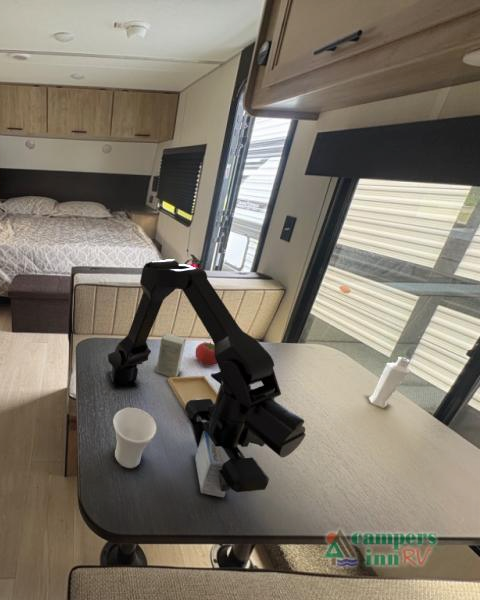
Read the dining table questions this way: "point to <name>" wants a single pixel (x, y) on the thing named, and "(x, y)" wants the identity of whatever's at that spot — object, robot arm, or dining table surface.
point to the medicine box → (210, 465)
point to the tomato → (206, 354)
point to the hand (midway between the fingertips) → (211, 468)
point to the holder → (192, 389)
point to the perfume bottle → (390, 381)
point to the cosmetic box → (170, 355)
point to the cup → (132, 435)
